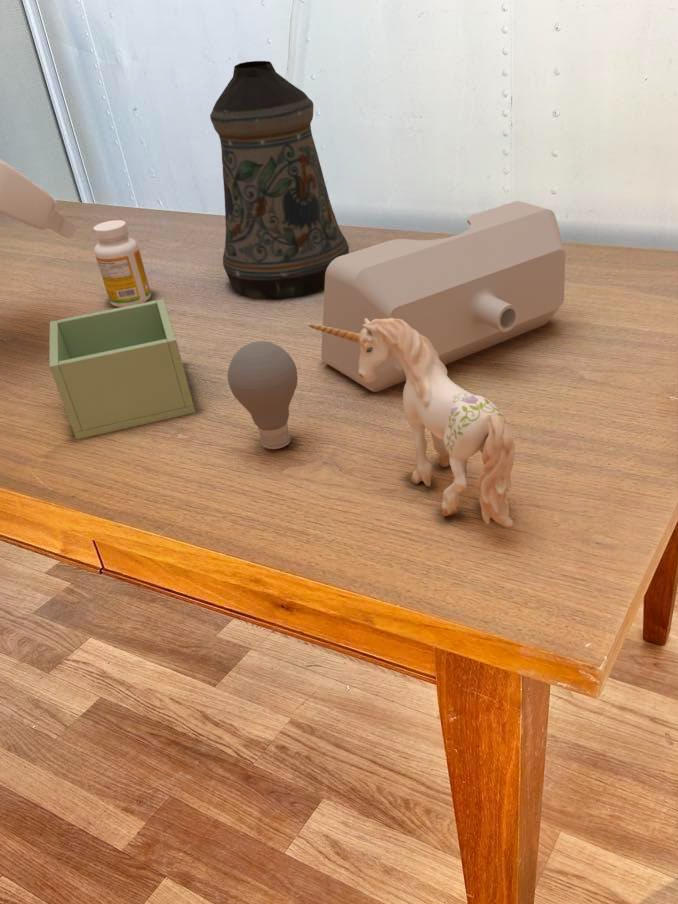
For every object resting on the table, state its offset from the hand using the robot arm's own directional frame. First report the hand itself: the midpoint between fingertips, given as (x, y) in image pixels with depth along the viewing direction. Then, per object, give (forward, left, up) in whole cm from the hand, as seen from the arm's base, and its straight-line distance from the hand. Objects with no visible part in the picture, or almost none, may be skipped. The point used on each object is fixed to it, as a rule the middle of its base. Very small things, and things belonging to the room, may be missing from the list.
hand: (53, 225), depth 100 cm
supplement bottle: (+6, +3, -12) cm, 13 cm away
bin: (+4, -27, -12) cm, 30 cm away
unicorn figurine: (+25, -57, -12) cm, 63 cm away
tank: (+38, -33, -12) cm, 52 cm away
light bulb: (+16, -43, -12) cm, 48 cm away
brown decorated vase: (+26, +1, -12) cm, 29 cm away
